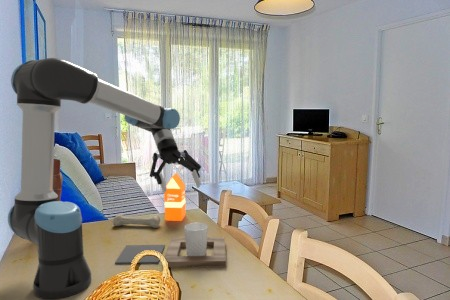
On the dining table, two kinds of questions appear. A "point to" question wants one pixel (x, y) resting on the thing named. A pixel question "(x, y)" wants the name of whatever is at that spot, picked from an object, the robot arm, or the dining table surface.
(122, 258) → the rubber mat
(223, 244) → the puzzle board
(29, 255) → the dining table surface
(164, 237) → the dining table surface
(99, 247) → the dining table surface
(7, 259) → the dining table surface
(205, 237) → the white cup
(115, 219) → the dog toy
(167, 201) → the orange juice
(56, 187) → the vase
